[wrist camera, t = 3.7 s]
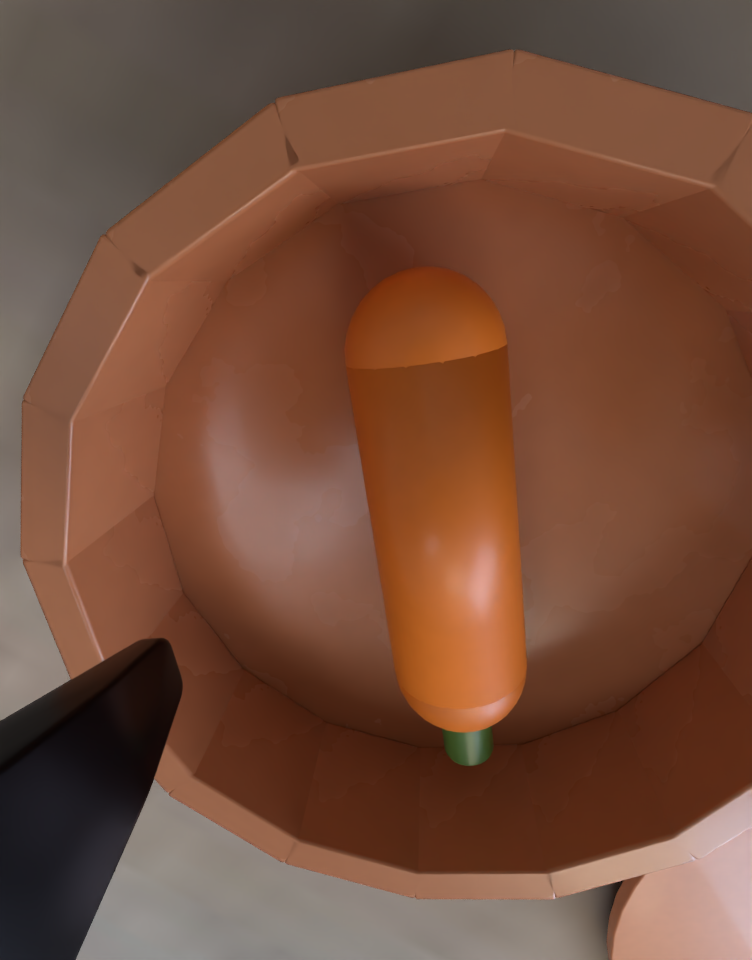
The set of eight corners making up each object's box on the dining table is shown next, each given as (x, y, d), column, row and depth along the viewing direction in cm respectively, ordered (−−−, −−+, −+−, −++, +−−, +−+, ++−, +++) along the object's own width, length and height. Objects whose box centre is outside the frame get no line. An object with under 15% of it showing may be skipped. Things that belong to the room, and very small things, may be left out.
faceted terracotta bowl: (848, 59, 9) (1111, -78, 6) (762, 748, 15) (872, 901, 11) (41, 213, 12) (-137, 182, 8) (217, 765, 17) (158, 899, 13)
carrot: (344, 280, 11) (316, 279, 8) (491, 256, 11) (513, 249, 8) (410, 705, 15) (405, 804, 12) (521, 699, 14) (543, 801, 12)
